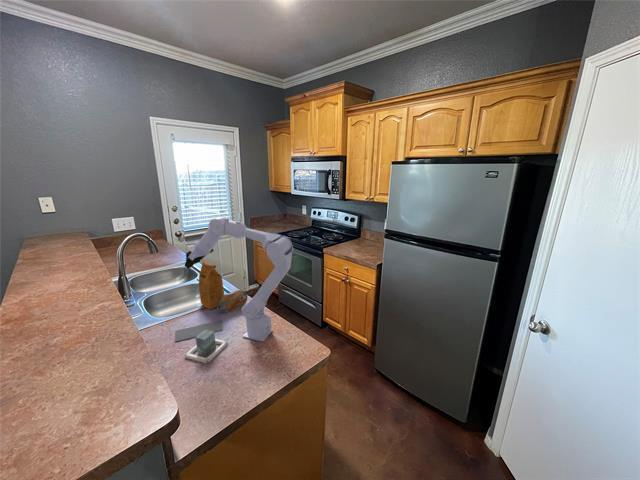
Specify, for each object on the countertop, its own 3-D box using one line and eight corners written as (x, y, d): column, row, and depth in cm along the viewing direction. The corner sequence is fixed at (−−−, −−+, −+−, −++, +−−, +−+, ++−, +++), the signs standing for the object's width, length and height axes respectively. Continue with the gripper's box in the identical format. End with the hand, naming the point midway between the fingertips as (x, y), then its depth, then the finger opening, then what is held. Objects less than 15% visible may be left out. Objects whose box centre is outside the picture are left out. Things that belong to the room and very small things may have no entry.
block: (216, 347, 100) (214, 331, 98) (206, 356, 95) (204, 339, 93) (207, 345, 101) (205, 329, 99) (197, 353, 96) (195, 337, 95)
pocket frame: (227, 344, 101) (227, 341, 101) (207, 363, 91) (207, 360, 91) (206, 339, 105) (206, 336, 104) (185, 357, 95) (184, 354, 94)
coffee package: (217, 296, 140) (212, 257, 134) (227, 304, 132) (223, 263, 126) (198, 302, 133) (192, 262, 128) (207, 311, 125) (202, 268, 119)
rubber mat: (220, 320, 117) (220, 319, 117) (222, 330, 110) (222, 329, 110) (175, 331, 110) (175, 330, 109) (174, 342, 103) (174, 341, 103)
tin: (219, 315, 121) (217, 299, 119) (216, 313, 124) (214, 297, 121) (248, 304, 132) (247, 289, 129) (245, 302, 134) (243, 287, 132)
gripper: (210, 228, 109) (195, 249, 114) (189, 241, 95) (173, 264, 100) (224, 239, 110) (208, 259, 115) (204, 253, 96) (187, 275, 101)
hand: (192, 262), depth 108 cm, fingers open, 7 cm apart
